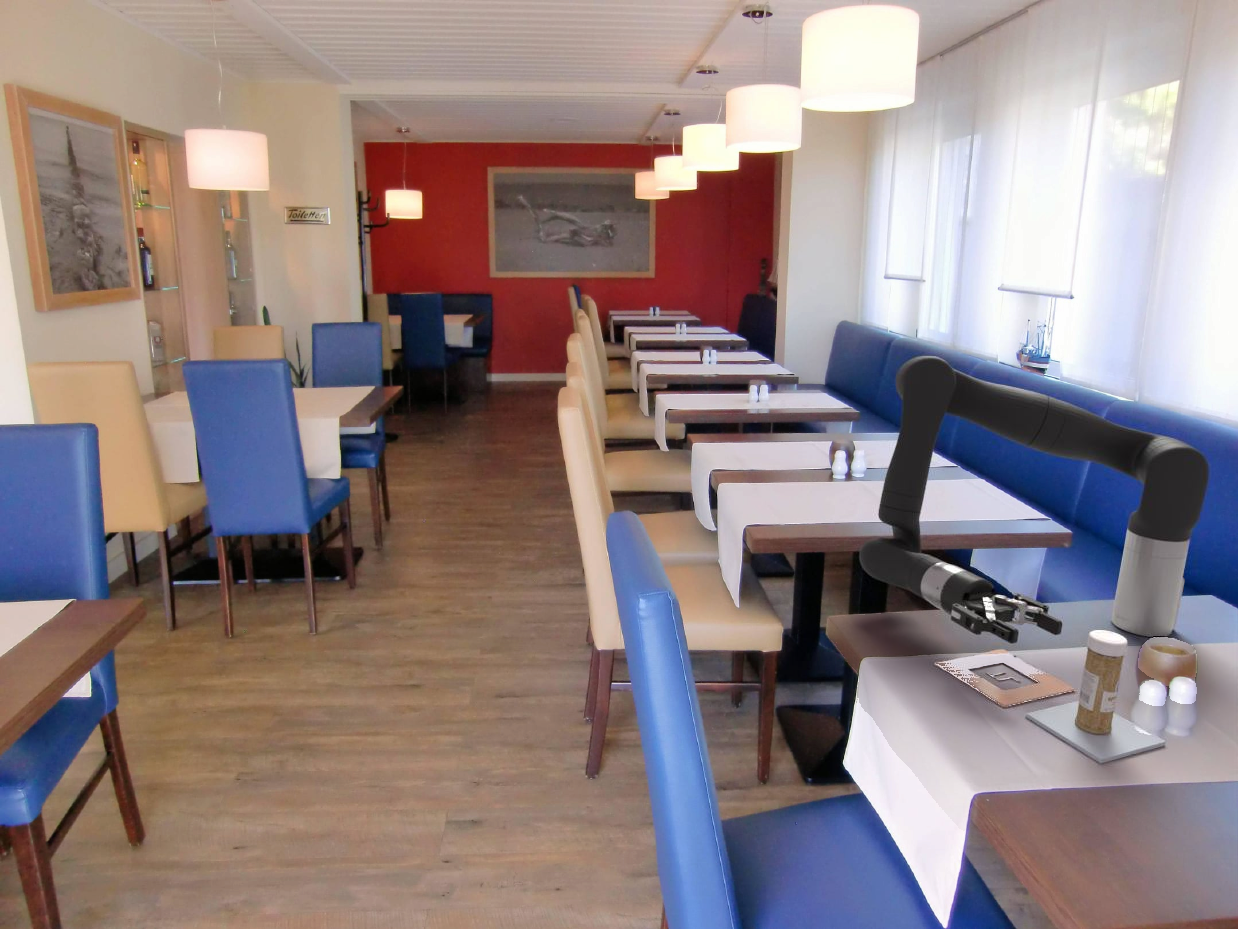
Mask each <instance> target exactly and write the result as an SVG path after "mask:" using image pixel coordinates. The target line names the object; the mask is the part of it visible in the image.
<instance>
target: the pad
mask: <svg viewBox="0 0 1238 929" xmlns="http://www.w3.org/2000/svg"><path fill="white" fill-rule="evenodd" d="M1078 705H1079V700H1077V701H1072V702H1069V703H1064V704H1060V705H1056V706H1055V705H1054V706H1052V707H1047V708H1042V709H1039V710H1035V711H1030V712H1026V713H1025V718H1026V717H1027V719H1028V718H1029V719H1028V720H1030V719H1031V720H1032V721H1031V720H1030V721H1031V722H1032V723H1035V724H1036V725H1038V726H1039V727H1041V728H1043V729H1044V730H1046V731H1048V732H1049V733H1050V734H1052V735H1053V736H1055V737H1057V738H1059V739H1060V740H1062V741H1064V742H1065V743H1067V745H1069V746H1072V747H1073V748H1074V749H1077V750H1078V751H1079V752H1081V753H1083V754H1085V755H1086V756H1087V757H1089V758H1090V759H1092V760H1094V761H1096V762H1097V763H1099V764H1101V765H1102V764H1104V763H1108V762H1111V761H1114V760H1118V759H1123V758H1125V757H1129V756H1132V754H1133V755H1135V754H1140V753H1144V752H1146V751H1147V752H1148V751H1150V750H1154V749H1158V748H1160V747H1161V748H1162V747H1165V746H1166V740H1164V739H1162V738H1160V737H1158V736H1157V735H1156V734H1153V735H1147V734H1144V733H1140V732H1139V731H1137V730H1136V729H1135V727H1134V724H1135V723H1133V722H1131V721H1130V720H1128V719H1126V718H1124V717H1122V716H1120V715H1119V714H1117V713H1115V712H1114V713H1113V719H1112V725H1111V726H1112V730H1111V732H1109V733H1108V734H1094V733H1090V732H1087V731H1085V730H1083V729H1081V728H1080V727H1079V726H1077V724H1076V723H1075V718H1076V717H1077V712H1078Z"/></svg>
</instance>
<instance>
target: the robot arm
mask: <svg viewBox="0 0 1238 929" xmlns="http://www.w3.org/2000/svg"><path fill="white" fill-rule="evenodd" d="M894 383H895V389H896V392H897V394H898V396H899V397H900V398H901V400H902V403H901V404H902V405H901V406H902V409H901V411H902V412H901V422H900V427H899V433H898V437H897V440H896V445H895V448H894V450H893V453H892V456H891V458H890V462H889V465H888V468H887V471H886V475H885V478H884V482H883V487H882V491H881V496H880V502H879V507H878V519H879V520H880V521H881V522H882V523H883V524H886V525H888V526H891V529H892V537H891V538H890V537H889V538H888V537H873V538H870V539H868V540H866V541H865V542H864V543H863V544H862V546H861V548H860V550H859V554H858V555H859V557H858V558H859V563H860V565H861V567H862V569H863V571H864V572H865V573H866V574H868V576H871V577H872V578H873V579H875V580H878V581H881V582H883V583H886V584H889V585H892V586H895V587H899V588H902V589H905V590H906V591H910V592H911V593H912V594H915V595H916V596H918V597H921V598H922V599H924V600H925V601H927V602H929V604H931V605H932V606H934V607H936V608H937V609H939V610H941V611H943V612H945V613H946V614H947V615H949V616H950V620H951V621H952V622H954V623H956V625H959V626H960V627H962V628H963V629H965V630H967V631H968V632H971V633H972V634H974V635H978V636H980V635H982V632H984V633H985V634H987V635H991V636H993V635H994V636H996V637H998V638H1000V639H1002V640H1004V641H1006V642H1008V643H1009V644H1016V643H1018V639H1019V630H1018V629H1017V628H1016V627H1014V626H1012V625H1010V624H1015V625H1019V626H1022V625H1024V624H1027V625H1028V624H1029V625H1033V626H1036V627H1038V628H1040V629H1042V630H1044V631H1046V632H1048V633H1051V634H1052V635H1054V636H1058V635H1061V633H1062V629H1063V621H1061V619H1058V618H1056V617H1054V616H1052V615H1050V614H1049V613H1048V612H1049V608H1050V606H1049V605H1047V604H1045V603H1042V602H1040V601H1037V600H1035V599H1033V598H1030V597H1029V596H1027V595H1024V594H1021V593H1014V595H1013V598H1009V597H1007V596H1005V595H1001V594H998V593H997V591H996V588H995V587H994V585H993V583H992V582H991V581H990V580H988V579H985V578H983V577H981V576H979V575H976V574H975V573H973V572H970V571H968V570H966V569H964V568H963V567H959V566H957V565H954V564H950V563H947V562H946V561H943V560H941V559H939V558H937V557H934V556H932V555H930V554H927V553H926V554H925V553H922V541H921V540H922V539H921V524H920V517H921V511H922V508H923V503H924V498H925V493H926V489H927V488H926V487H927V483H928V478H929V473H930V466H931V462H932V458H933V454H934V449H935V446H936V442H937V438H938V435H939V432H940V428H941V426H942V424H943V420H944V417H945V416H946V415H948V416H949V415H950V416H953V417H957V418H961V419H963V420H966V421H968V422H971V423H973V424H976V425H977V426H979V427H982V428H983V429H985V430H988V431H990V432H991V433H994V434H996V435H998V436H1000V437H1002V438H1004V439H1007V440H1009V441H1012V442H1014V443H1016V444H1018V445H1022V446H1023V447H1027V448H1029V449H1032V450H1035V451H1038V452H1041V453H1045V454H1048V455H1051V456H1055V457H1059V458H1065V459H1069V460H1076V461H1077V460H1078V461H1084V462H1085V461H1086V462H1091V463H1094V464H1095V463H1096V464H1100V465H1102V466H1105V467H1107V468H1110V469H1112V470H1115V471H1117V472H1119V473H1122V474H1124V475H1126V476H1128V477H1130V478H1132V479H1135V480H1136V481H1137V482H1139V483H1141V484H1142V485H1143V488H1142V493H1141V497H1140V502H1139V507H1138V508H1137V509H1136V510H1134V511H1132V512H1131V513H1130V515H1129V518H1128V522H1127V528H1126V534H1125V540H1124V546H1123V547H1124V548H1123V551H1122V552H1123V553H1122V558H1121V564H1120V569H1119V573H1118V574H1119V576H1118V579H1117V580H1118V581H1117V585H1116V586H1117V587H1116V591H1115V598H1114V601H1113V608H1112V614H1111V621H1110V622H1111V623H1112V624H1113V625H1114V626H1116V627H1117V628H1119V629H1121V630H1123V631H1125V632H1128V633H1131V634H1133V635H1134V634H1135V635H1138V636H1142V637H1143V636H1144V637H1149V638H1150V637H1151V638H1154V637H1153V636H1165V637H1168V636H1170V635H1171V634H1172V632H1173V630H1175V629H1176V626H1177V622H1178V620H1177V619H1178V616H1179V615H1178V614H1179V610H1180V605H1181V600H1182V595H1183V590H1184V585H1185V578H1184V577H1183V576H1184V572H1185V571H1184V570H1185V568H1186V567H1185V566H1186V562H1187V561H1186V560H1187V557H1188V550H1189V547H1190V540H1191V536H1192V532H1193V530H1194V528H1195V527H1196V525H1197V524H1198V522H1199V520H1200V517H1201V514H1202V510H1203V505H1204V501H1205V498H1206V494H1207V490H1208V484H1209V478H1210V466H1209V462H1208V460H1207V458H1206V457H1205V455H1204V454H1203V453H1202V452H1201V451H1199V450H1198V449H1197V448H1195V447H1193V446H1192V445H1190V444H1188V443H1186V442H1184V441H1181V440H1180V439H1177V438H1174V437H1169V436H1166V435H1160V434H1155V433H1151V432H1147V431H1142V430H1140V429H1139V430H1138V429H1134V428H1130V427H1127V426H1123V425H1120V424H1117V423H1115V422H1112V421H1110V420H1107V419H1105V418H1104V417H1102V416H1100V415H1098V414H1095V413H1093V412H1091V411H1089V410H1086V409H1084V408H1081V407H1080V406H1078V405H1077V406H1076V405H1074V404H1072V403H1070V402H1067V401H1064V400H1060V399H1057V398H1055V397H1052V396H1049V395H1046V394H1043V393H1039V392H1036V391H1032V390H1029V389H1025V388H1024V389H1023V388H1019V387H1015V386H1010V385H1005V384H1000V383H999V384H998V383H994V382H989V381H985V380H982V379H978V378H976V377H973V376H971V375H968V374H966V373H963V372H961V371H959V370H956V369H955V368H953V367H952V366H951V365H950V363H948V361H947V360H945V359H943V358H941V357H938V356H934V355H933V356H932V355H922V356H921V355H920V356H916V357H913V358H911V359H909V360H908V361H906V362H905V363H903V364H902V366H900V368H899V369H898V371H897V373H896V376H895V382H894ZM1016 613H1018V614H1019V616H1018V617H1015V615H1016ZM1026 616H1027V617H1026Z"/></svg>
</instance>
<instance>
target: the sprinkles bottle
mask: <svg viewBox="0 0 1238 929" xmlns="http://www.w3.org/2000/svg"><path fill="white" fill-rule="evenodd" d="M1128 644H1129V643H1128V640H1127V638H1126V637H1124V636H1123V635H1121V634H1119V633H1116V632H1113V631H1110V630H1105V629H1104V630H1101V629H1098V630H1091V631H1090V632H1089V634H1088V637H1087V642H1086V646H1087V651H1086V659H1085V662H1084V663H1085V664H1084V667H1083V673H1082V678H1081V684H1080V691H1079V696H1078V701H1079V705H1078V712H1077V717H1076V718H1075V723H1076V724H1077V726H1079V727H1080V728H1081V729H1083V730H1085V731H1087V732H1090V733H1094V734H1108V733H1109V732H1111V730H1112V726H1111V725H1112V719H1113V713H1115V710H1116V709H1115V708H1116V705H1117V704H1116V703H1117V697H1118V692H1119V686H1120V681H1121V672H1122V668H1123V660H1124V657H1125V656H1126V654H1127V649H1128Z"/></svg>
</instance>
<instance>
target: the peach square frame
mask: <svg viewBox="0 0 1238 929" xmlns="http://www.w3.org/2000/svg"><path fill="white" fill-rule="evenodd" d="M998 653H1010V652H1009V651H1007V650H1005V649H1004V648H1001V649H1000V648H999V649H995V650H991V651H986V652H985V651H984V652H981V653H978V654H998ZM950 659H951V660H953V659H954V658H950ZM950 659H944V660H945V661H946V660H947V661H948V660H950ZM940 661H941V662H942V661H943V660H940ZM940 661H936V662H937V663H936V664H939V665H941V666H945V664H946V663H938V662H940ZM947 664H949V663H947ZM950 664H951V663H950ZM946 666H947V665H946ZM943 668H944V669H945V668H947V669H946V670H947V671H949V672H950V671H951V672H955V671H954V670H948V668H949V667H943ZM950 668H952V667H950ZM950 668H949V669H950ZM953 668H954V667H953ZM957 671H961V670H956V672H957ZM962 671H963V670H962ZM1042 671H1043V670H1042ZM1042 671H1041V673H1042ZM1037 672H1039V670H1038V671H1037ZM958 673H960V672H958ZM954 675H957V677H958V676H962V674H954ZM968 675H970V676H973V674H968ZM976 675H977V676H976ZM1031 675H1032V676H1031ZM963 676H964V674H963ZM965 676H967V675H965ZM974 676H975V677H978V676H979V678H974V677H973V678H972V677H971V678H970V680H969V678H963V677H962V678H961V679H962V680H963V679H964V681H965V679H967V683H969V684H970V685H972V686H973V685H974V686H973V687H974V688H977V689H978V690H979V691H980V692H982V693H984V694H985V695H987V696H988V697H990V698H991V699H993V700H995V701H996V702H997V703H999V704H1000V705H1002V706H1003V707H1006V708H1008V707H1007V706H1009V705H1013V704H1018V703H1022V702H1024V701H1029V700H1035V699H1039V698H1042V697H1046V696H1051V695H1056V694H1059V693H1064V692H1069V691H1074V690H1075V691H1076V688H1075V687H1073V686H1071V685H1069V684H1067V683H1065V682H1063V681H1062V680H1060V679H1058V678H1056V677H1054V676H1052V675H1051V674H1049V673H1047V672H1046V674H1045V671H1044V673H1043V674H1039V673H1038V674H1030V675H1029V676H1030V677H1032V678H1033V676H1034V678H1033V679H1035V680H1037V681H1038V682H1039V683H1036V682H1035V683H1032V684H1027V685H1023V686H1019V687H1015V688H1011V689H1006V690H1004V689H1002V688H1000V687H999V686H997V685H995V684H993V683H991V682H990V681H988V680H987V679H985V678H984V677H982V678H980V677H981V676H980V675H978V674H977V673H975V674H974ZM968 680H969V682H968ZM974 680H975V681H974ZM970 681H973V682H970ZM976 681H978V682H976ZM997 703H996V704H997ZM1000 705H999V706H1000ZM1003 707H1002V708H1003Z"/></svg>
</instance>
